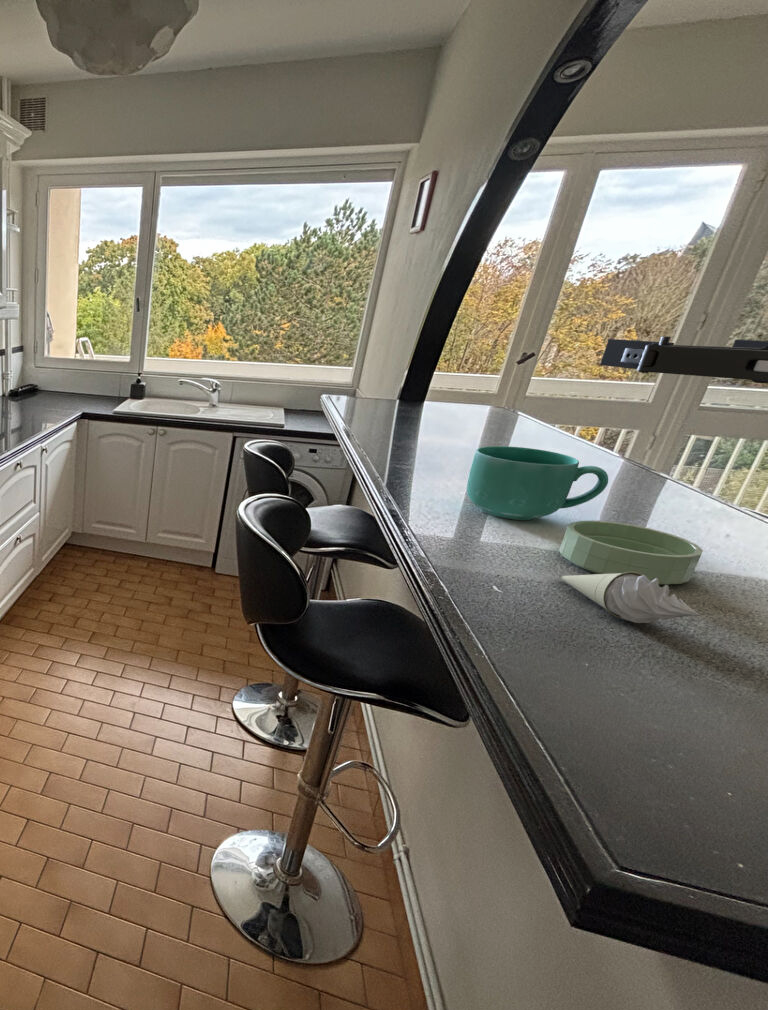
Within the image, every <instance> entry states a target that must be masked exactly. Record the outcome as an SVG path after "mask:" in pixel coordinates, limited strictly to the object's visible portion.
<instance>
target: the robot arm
mask: <svg viewBox="0 0 768 1010" xmlns="http://www.w3.org/2000/svg"><path fill="white" fill-rule="evenodd" d="M671 338H672V336H663V335H662V336H661V337H660V339H659V341H650V340H633V339H619V338H618V339H617V338H614V339H613V338H608V340H607V342H606V346H605V348H604V351H603V355H602V357H601V360H600V363H599V366H606V367H614V368H622V369H631V370H632V369H633V370H636V372H638V373H641V374H649V373H653V374H654V373H655V374H669V375H682V376H692V377H693V376H695V377H709V378H719V379H720V378H722V379H723V378H724V379H734V380H744V381H745V380H747V381H751V382H753V383H755V384H767V385H768V340H757V339H756V340H755V339H735V340H734V342H733V345H732V346H716V345H715V346H713V345H712V346H711V345H688V344H687V345H685V344H675V342H670V340H671Z"/></svg>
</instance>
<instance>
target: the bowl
mask: <svg viewBox="0 0 768 1010" xmlns="http://www.w3.org/2000/svg"><path fill="white" fill-rule="evenodd" d="M703 552H704V551H703V549H702V548H701V547H700V546H699V545H698V544H696V543H694V542H692V541H691V540H688V539H686V538H684V537H680V536H677V535H674V534H672V533H668V532H664V531H661V530H656V529H654V528H650V527H646V526H645V527H644V526H640V525H634V524H630V523H622V522H616V521H615V522H614V521H606V520H605V521H604V520H577V521H574V522H571V523H570V524H568V525H567V527H566V530H565V532H564V536H563V538H562V541H561V543H560V547H559V553H560V555H561V556H562V557H563V558H565V559H566V560H567V561H569V562H570V563H572V564H573V565H576V566H578V567H580V568H582V569H584V570H585V571H588V572H591V573H593V574H616V573H625V572H638V573H641V574H643V575H645V576H646V577H647V578H648V579H649V580H650V582H651V581H653V580H654V579H658V580H659V583H658V585H659V586H665V585H668V586H669V585H679V584H680V585H681V584H684V583H688V582H690V580H691V578H692V576H693V574H694V572H695V570H696V567H697V565H698V563H699V561H700V559H701V556H702V555H703Z"/></svg>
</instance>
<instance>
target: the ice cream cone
mask: <svg viewBox="0 0 768 1010" xmlns="http://www.w3.org/2000/svg"><path fill="white" fill-rule="evenodd" d="M560 579H561V580H562V581H563V582H564V583H566V584H568V585H569V586H570V587H572V588H574V589H575V590H577V591H578V592H580V593H581V594H582V595H584V596H585V597H587V598H588V599H590V600H591V601H593V602H594V603H596V604H598V605H599V606H601V607H602V608H603V609H605V610H606V611H607V612H608V613H609V614H610V615H612V616H614V617H616V618H620V619H622V620H625V621H629V622H632V623H635V624H653V623H656V622H657V621H660V620H663V621H666V620H670V619H676V618H683V617H695V616H696V617H697V616H700V613H698V612H697V611H695V610H694V608H691V607H690V606H689V605H688V604H686V603H685V602H684V600H683V599H682V598H678V597H677V595H676V594H675V593H672V594H671V595H670V596H669V594H670V593H671V592H670V591H671V590H670V587H669V584H668V585H663V586H660V585H658V583H659V580H658V579H654V580H653V581H651V582H650V580H649V579H648V578H647V577H646V576H645V575H643V574H641V573H638V572H625V573H616V574H597V573H593V574H574V575H562V576H561V578H560Z"/></svg>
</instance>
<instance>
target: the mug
mask: <svg viewBox="0 0 768 1010" xmlns="http://www.w3.org/2000/svg"><path fill="white" fill-rule="evenodd" d="M579 465H580V461H579V460H578V459H577V458H575V457H573V456H571V455H568V454H564V453H559V452H555V451H550V450H544V449H538V448H530V447H522V446H506V445H505V446H503V445H496V446H495V445H493V446H483V447H478V448H477V449H476V450H475V452H474V455H473V459H472V462H471V466H470V470H469V473H468V477H467V483H466V495H467V497H468V499H469V500H470V501H471V503H472V504H474V505H475V506H476V507H477V508H478V509H479V508H480V510H481V511H482V512H483V513H486V514H487V515H490V516H494V517H496V518H502V519H507V520H515V521H532V520H535V519H538V518H542V517H546V516H549V515H552V514H554V513H556V512H557V511H559V510H562V509H568V508H573V507H576V506H579V505H582V504H585V503H587V502H589V501H591V500H593V499H595V498H597V496H599V495H600V494H601V493H602V492H604V490H606V488H607V486H608V484H609V475H608V473H607V472H606V471H605V469H603V468H601V467H599V466H596V465H584V466H580V467H579ZM587 474H592V475H596V476H597V482H596V484H595V485H594V486H593V487H592V488H591V489H589V490H588V491H586V492H584V493H582V494H579V495H577V496H573V497H568V496H569V494H570V491H571V488H572V486H573V483H574V482H577V481H578V480H579V479H580V478H581V477H582V476H583V475H587Z"/></svg>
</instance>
